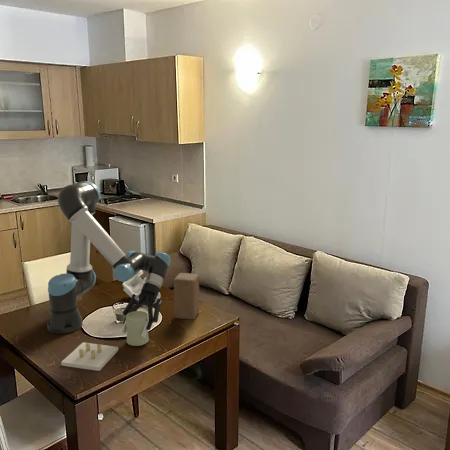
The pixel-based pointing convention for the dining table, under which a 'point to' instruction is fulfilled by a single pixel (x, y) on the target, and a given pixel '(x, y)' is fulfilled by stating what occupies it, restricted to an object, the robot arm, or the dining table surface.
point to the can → (136, 328)
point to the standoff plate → (90, 356)
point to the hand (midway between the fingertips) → (133, 334)
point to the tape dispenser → (135, 285)
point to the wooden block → (186, 296)
